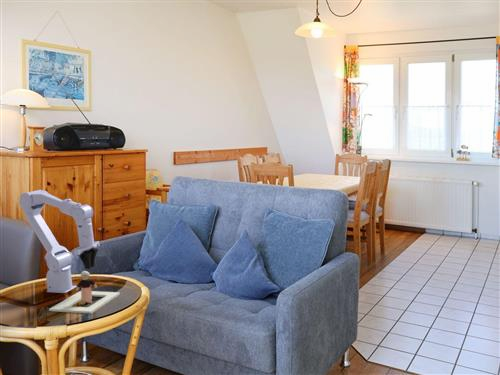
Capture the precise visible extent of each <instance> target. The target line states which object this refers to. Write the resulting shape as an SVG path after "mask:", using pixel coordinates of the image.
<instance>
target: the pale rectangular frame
mask: <svg viewBox="0 0 500 375" xmlns="http://www.w3.org/2000/svg"><path fill="white" fill-rule="evenodd" d="M91 291H92V297H96V298H97V297H99V298H101V299H98V301H96V302H94V303H93V304H91V305H90V306H87V307H86V306H85V307H84V306H74V305H76V304H77V303H79V302H80V301H81V302H82V300H81V290H78V291H77V292H76V293H74V294H73V295H71V296H69V297H67V298H65V299H63V301H61V302H59V303H57V304H54V305H53V306H52V307H50V308H48V312H58V313H59V312H60V313H72V314H73V313H74V314H89V315H91V314H93V313H95V312H96V311H98V310H99V309H100V308H102V307H103V306H105V305H106V304H108V303H110V302H111V301H112V300H113V299H115V298H117V297H118V296H121V295H120V293H121V292H115V291H98V290H91Z"/></svg>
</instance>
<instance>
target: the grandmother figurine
mask: <svg viewBox="0 0 500 375" xmlns="http://www.w3.org/2000/svg"><path fill="white" fill-rule="evenodd" d="M80 276H81V280H80V281H79V282H78V283H77V285H76V286H77V287H76V289H75V291H76V292H79V291H81V302H80V305H86V303H87V304H92V303H93V301H92V300H93V296H92V291H93V290H92V287H91V286H93V287H94V288H95V289H96V288H98V285H97V284H96V282H95V280H92V279H89V277H90V276H91V274H90V272H89V271H86V270H83V271H81V273H80ZM80 288H81V290H80Z"/></svg>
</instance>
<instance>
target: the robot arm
mask: <svg viewBox="0 0 500 375" xmlns="http://www.w3.org/2000/svg"><path fill="white" fill-rule="evenodd" d="M18 204H19V205H20V208H21V209H22V211H23V214H24V216H25V219H26V220H27V221H28V223H29V225H30V226H31V228H32V230H33V232H34V234H35V235H36V236H37V238H38V239H39V242H40V243H41V244H42V246H43V248H44V249H45V251H46V254H45V255H44V260H45V262H46V266H47V268H48V271H47V272H46V278H45V279H46V286H47V290H46V293H55V294H56V293H57V294H58V293H59V294H66V293H68V292H70V291H72V290H74V289H75V288H76V289H77V285H73V280H72V273H71V272H72V271H71V268H72V264H73V263H74V256H78V257H79V259H81V262H82V264H83V266H84V269H85V270H86V269H88V270H89V269H91V268H94V267H95V262H96V257H97V255H98V254H97V253H98V252H99V250H98V248H97V247H100V246H101V245H100V241H99V240H97V241H95V239H94V231H93V223H92V218H93V216H94V209H93V207H92V206H91V205H90V204H84V205H83V204H81V202H75V201H73V200H72V199H71V198H65V199H60V198H59V197H57V196H55V195H53V194H50V193H49V192H48V191H46V190H43V189H37V190H34V191H33V190H32V191H27V192H22V193H21V194H20V195H19V199H18ZM45 205H49V206H51V207H55V208H58V209H59V211H60V213H63V214H65V215H68V216H70V217H72V218H73V219H74V221H75V225H76V229H77V237H78V243H79V246H78V247H77V248H76V249H75V250H73V251H74V256H73V254H72V252H71V251H69V250H68V249H67V248H66V247H65V246H63V245H60V244H59V242H58V241H57V239H56V237H55V236H54V234H53V233H52V230H51V229H50V228H49V226H48V225H47V222H46V220H44V218H43V216H42V215H41V212H42V210H43V209H44V207H45Z"/></svg>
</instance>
